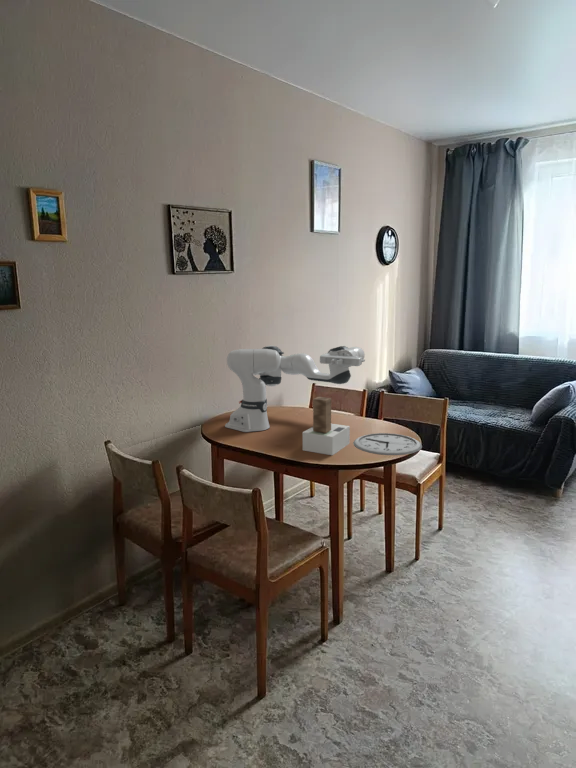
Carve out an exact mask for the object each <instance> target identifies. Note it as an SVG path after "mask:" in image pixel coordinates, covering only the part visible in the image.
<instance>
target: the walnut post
mask: <svg viewBox="0 0 576 768" xmlns="http://www.w3.org/2000/svg"><path fill="white" fill-rule="evenodd" d="M312 402H313V403H312V412H313V413H312V420H313V421H312V423H313V424H312V425H313V426H312V427H313V431H315V432H322V433H327V432H329V431H330V430H331V424H332V397H323V396H317V397H314V398H312Z"/></svg>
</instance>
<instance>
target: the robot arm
mask: <svg viewBox="0 0 576 768" xmlns="http://www.w3.org/2000/svg"><path fill="white" fill-rule="evenodd" d="M283 354H285V352H284V351H282V349H281V348H280V347H278V346H275V345H271V344H270V345H266V346H264V347H262V348H240V349H233V350H231V351H229V353H228V354H227V357H226V365H227V366H228V368H229V369H230V371H232V372H233V373H235V374H236V376H237V377H238V378H239V380H240V382H241V386H242V394H243V399H241V400H239V401H238V404H240V406H239V407H238V408H237V409H236V410H234V411H233V412H231V414H230V415H229V416H230V417H229V421H228V422H227V423H225V425H224V427H225V428H227V429H231V430H234V431H235V430H236V431H239V432H243V433H251V432H260V431H265V430H268V429H270V427H271V426H270V425H271V424H270V423H269V418H268V412H267V410H268V400H267V386H268V387H276V386H278V385H280V384H281V382H282V373H284V374H286V375H297V376H298V375H302V376H304V377H306V378H307V380H310V381H313V382H323V383H331V384H335V385H344V384H346V383H349V381H350V379H351V377H352V374H351V372H350V368H351V367H360V366H361V365H362V363H364V362H365V361H366V359H365V355H366V354H365V351H364V349H362V347H359V346H352V347H348V346H345V345H343V346H342V345H341V346H337V347H333V348H330V349H329V350H328V351H327V352H326V353H323V354H321V355H320V356H319V363H320V364H323V365H324V364H326V365H328V369H329V373H328V372H327V373H325V372H322V371H320V370H319V368H318V366H317V365H316V362H315V360H314V358H312V357H311V355H309V354H307V353H304V352H303V353H302V352H301V353H295V354H291V355H287V356H285V355H283ZM256 376H259V377H256Z"/></svg>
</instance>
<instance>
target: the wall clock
mask: <svg viewBox="0 0 576 768" xmlns="http://www.w3.org/2000/svg"><path fill="white" fill-rule="evenodd" d="M352 444H353V446H354V447H355V448H356V449H358V450H360V451H362V452H364V453H365V452H366V453H369V454H372V455H373V454H374V455H382V456H405V455H409V454H410V455H411V454H414V453H417V452H419V451H420V450H422V448H423V445H422V443H421V442H420V441H419V440H417V439H415V438H414V437H411V436H408V435H404V434H398V433H389V432H383V433H382V432H379V433H369V434H365V435H362V436H358V437H357V438H356V439H355V440H353V443H352Z"/></svg>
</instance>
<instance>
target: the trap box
mask: <svg viewBox="0 0 576 768" xmlns="http://www.w3.org/2000/svg"><path fill="white" fill-rule="evenodd" d="M350 429H351V427H350V425H343V424H337V423H331V430H330V431H329V432H327V433H322V432H315V431H313V426H311V427H310V428H308V429H306V430H304V431H302V451H306V452H311V453H316V454H322V455H329V456H334V455H336V454H337V453H338V452H340V451H341V450H343V449H344V448H345V447H347V446H348V445H350V441H351V439H350V435H351V434H350V433H351V430H350Z"/></svg>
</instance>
